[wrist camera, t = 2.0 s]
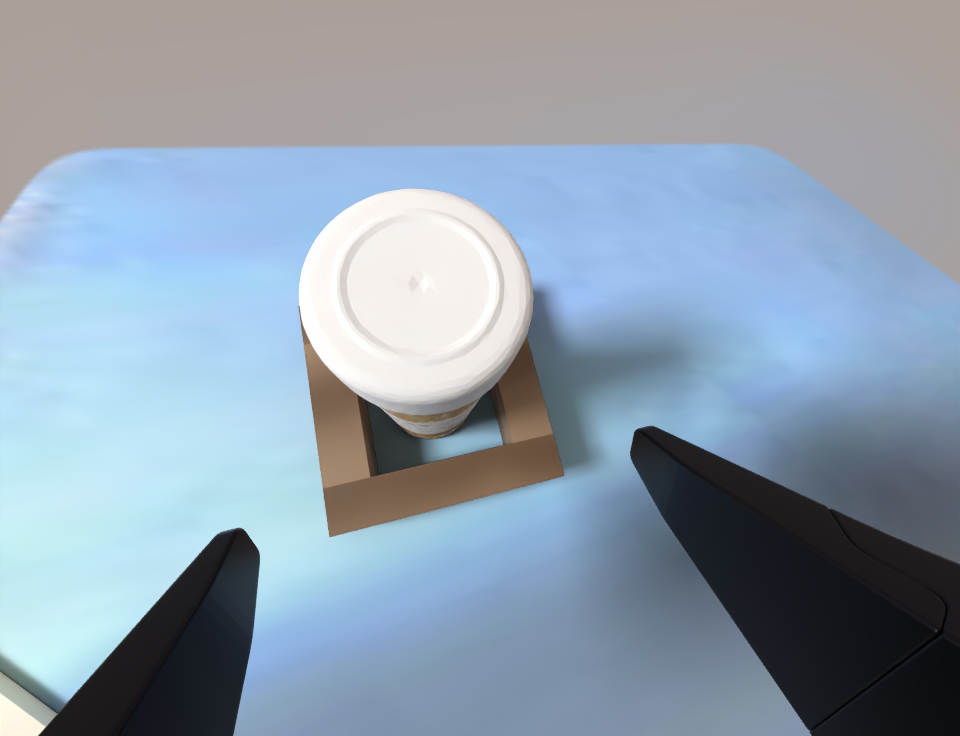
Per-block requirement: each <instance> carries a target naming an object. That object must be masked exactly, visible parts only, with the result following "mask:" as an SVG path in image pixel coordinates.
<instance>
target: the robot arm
mask: <svg viewBox="0 0 960 736" xmlns="http://www.w3.org/2000/svg"><path fill="white" fill-rule="evenodd" d="M630 456H631V460H632V462H633V464H634V466H635V468H636V470H637V471H638V473H639V475H640V477H641V479H642V481H643V482H644V484H645V486H646V488H647V490H648V492H649V493H650V495H651V497H652V499H653V501H654V502H655V504H656V506H657V508H658V510H659V511H660V513H661V515H662V516H663V518H664V520H665V521H666V523H667V524H668V526H669V527H670V529H671V530H672V532H673V533H674V535H675V536H676V537H677V539H678V540H679V542H680V543H681V545H682V546H683V548H684V549H685V551H686V552H687V554H688V555H689V556H690V558H691V559H692V561H693V562H694V564H695V565H696V567H697V568H698V570H699V571H700V573H701V574H702V575H703V577H704V578H705V580H706V581H707V583H708V584H709V586H710V587H711V589H712V590H713V592H714V593H715V594H716V596H717V597H718V599H719V600H720V602H721V603H722V605H723V606H724V608H725V609H726V611H727V612H728V613H729V615H730V616H731V618H732V619H733V621H734V622H735V624H736V625H737V627H738V628H739V630H740V631H741V632H742V634H743V635H744V637H745V638H746V640H747V641H748V643H749V644H750V646H751V647H752V649H753V650H754V651H755V653H756V654H757V656H758V657H759V659H760V660H761V662H762V663H763V665H764V666H765V668H766V669H767V670H768V672H769V673H770V675H771V676H772V678H773V679H774V681H775V682H776V684H777V685H778V687H779V688H780V689H781V691H782V692H783V694H784V695H785V697H786V698H787V700H788V701H789V703H790V704H791V706H792V707H793V708H794V710H795V711H796V713H797V714H798V716H799V717H800V719H801V720H802V722H803V723H804V725H805V726H806V727H807V729H808V730H810V734H811V735H812V736H960V564H958V563H955V562H953V561H951V560H948V559H946V558H943V557H941V556H938V555H936V554H933V553H931V552H929V551H926V550H924V549H921V548H919V547H917V546H914V545H912V544H909V543H907V542H905V541H902V540H900V539H898V538H895V537H893V536H890V535H888V534H886V533H884V532H882V531H879V530H877V529H875V528H873V527H870V526H868V525H866V524H864V523H862V522H859V521H857V520H855V519H853V518H851V517H848V516H846V515H844V514H842V513H840V512H838V511H835V510H833V509H828V508H827V507H826V506H824V505H822V504H820V503H818V502H816V501H814V500H812V499H809V498H807V497H805V496H803V495H801V494H799V493H797V492H794V491H792V490H790V489H788V488H786V487H784V486H781V485H779V484H777V483H775V482H773V481H771V480H769V479H766V478H764V477H762V476H760V475H758V474H756V473H754V472H751V471H749V470H747V469H745V468H743V467H741V466H738V465H736V464H734V463H732V462H730V461H728V460H726V459H723V458H721V457H719V456H717V455H715V454H713V453H711V452H708V451H706V450H704V449H702V448H700V447H698V446H696V445H693V444H691V443H689V442H687V441H685V440H683V439H680V438H678V437H676V436H674V435H672V434H670V433H668V432H665V431H663V430H661V429H659V428H657V427H654V426H646V427H642V428H638V429H636V431H635V432H634V436H633V441H632V446H631V451H630ZM259 566H260V554H259V551H258V549H257V547H256V546H255V544H254V543H253V541H252V540H251V538H250V537H249V536H248V534H247V533H246V531H245V530H244V529H242V528H235V529H231V530H227V531H223V532H220V533H219V534H217V535H216V536H215V537H214V538H213V539H212V540H211V541H210V542H209V544H208V545H207V546H206V547H205V548H204V549H203V550H202V551H201V553H200V554H199V555H198V556H197V557H196V558H195V559H194V561H193V562H192V563H191V564H190V565H189V566H188V567H187V568H186V570H185V571H184V572H183V573H182V574H181V575H180V576H179V577H178V579H177V580H176V581H175V582H174V583H173V584H172V585H171V586H170V588H169V589H168V590H167V591H166V592H165V593H164V594H163V595H162V597H161V598H160V599H159V600H158V601H157V602H156V603H155V604H154V606H153V607H152V608H151V609H150V610H149V611H148V612H147V613H146V615H145V616H144V617H143V618H142V619H141V620H140V621H139V622H138V624H137V625H136V626H135V627H134V628H133V629H132V630H131V631H130V633H129V634H128V635H127V636H126V637H125V638H124V639H123V640H122V642H121V643H120V644H119V645H118V646H117V647H116V648H115V649H114V651H113V652H112V653H111V654H110V655H109V656H108V657H107V658H106V660H105V661H104V662H103V663H102V664H101V665H100V666H99V667H98V669H97V670H96V671H95V672H94V673H93V674H92V675H91V676H90V678H89V679H88V680H87V681H86V682H85V683H84V684H83V685H82V687H81V688H80V689H79V690H78V691H77V692H76V693H75V694H74V696H73V697H72V698H71V699H70V700H69V701H68V702H67V703H66V705H65V706H64V707H63V708H62V709H61V710H60V711H59V712H58V714H57V715H56V716H55V717H54V718H53V719H52V720H51V721H50V723H49V724H48V725H47V726H46V727H45V728H44V729H43V730H42V732H41V733H40V734H39V735H38V736H233V734H234V729H235V724H236V719H237V714H238V709H239V704H240V699H241V694H242V689H243V684H244V679H245V674H246V669H247V664H248V659H249V654H250V649H251V643H252V637H253V629H254V619H255V608H256V598H257V587H258V576H259Z"/></svg>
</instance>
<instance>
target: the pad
mask: <svg viewBox="0 0 960 736" xmlns="http://www.w3.org/2000/svg"><path fill="white" fill-rule="evenodd" d="M56 715H57V713H55V712H54V711H53V710H51V709H50V708H49V707H47V706H46V705H45V704H43V703H42V702H41V701H39V700H38V699H36V698H35V697H34V696H32V695H31V694H30V693H28V692H27V691H26V690H24V689H23V688H22V687H20V686H19V685H17V684H16V683H15V682H13V681H12V680H11V679H9V678H8V677H7V676H5V675H4V674H3V673H1V672H0V736H38V735H39V734H40V733H41V732H42V730H43V729H44V728H45V727H46V726H47V725H48V724H49V723H50V721H51V720H52V719H53V718H54V717H55V716H56Z"/></svg>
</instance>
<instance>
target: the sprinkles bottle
mask: <svg viewBox="0 0 960 736" xmlns="http://www.w3.org/2000/svg"><path fill="white" fill-rule="evenodd" d="M533 300H534V296H533V285H532V280H531V275H530V270H529V267H528V264H527V261H526V259H525V257H524V254H523V252H522V251H521V249H520V247H519V246H518V244H517V242H516V241H515V239H514V238H513V236H512V235H511V234H510V233H509V231H508V230H507V229H506V228H505V227H504V226H503V225H502V224H501V223H500V222H499V221H498V220H497V219H496V218H495V217H493V216H492V215H491V214H490V213H488V212H487V211H485V210H484V209H482V208H481V207H479V206H478V205H476V204H474V203H472V202H470V201H468V200H466V199H464V198H461V197H459V196H456V195H452V194H449V193H445V192H441V191H435V190H428V189H402V190H395V191H388V192H383V193H380V194H376V195H373V196H371V197H369V198H366V199H364V200H362V201H359V202H357V203H356V204H354V205H352V206H351V207H349V208H347V209H346V210H344V211H343V212H342V213H340V214H339V215H338V216H337V217H336V218H334V219H333V220H332V221H331V222H330V223H329V224H328V225H327V226H326V227H325V228H324V229H323V231H322V232H321V233H320V235H319V236H318V237H317V239H316V240H315V241H314V243H313V245H312V247H311V249H310V251H309V253H308V255H307V257H306V260H305V263H304V266H303V269H302V272H301V277H300V285H299V304H300V312H301V318H302V323H303V326H304V329H305V331H306V334H307V336H308V338H309V340H310V342H311V344H312V346H313V348H314V350H315V351H316V353H317V354H318V356H319V357H320V358H321V360H322V361H323V363H324V364H325V365H326V366H327V367H328V368H329V369H330V370H331V371H332V372H333V373H334V374H335V375H336V376H337V377H338V378H339V379H340V380H341V381H342V382H343V383H344V384H345V385H347V386H348V387H349V388H350V389H351V390H352V391H354V392H355V393H356V394H358V395H359V396H361V397H362V398H364V399H365V400H367V401H369V402H371V403H373V404H375V405H377V406H379V407H380V408H381V409H382V410H384V411H385V412H386V413H387V414H388V415H389V416H390V417H391V418H392V419H393V420H394V421H395V422H396V423H397V424H398V426H399V427H400V428H401V429H403V430H404V431H405V432H407V433H409V434H410V435H412V436H414V437H418V438H424V439H437V438H441V437H444V436H447V435H449V434H451V433H452V432H453V431H455V430H457V429H458V428H459V427H460V426H461V425H462V424H463V423H464V421H465V420H466V419H467V416H468V414H469V413H470V412H471V410H472V409H473V408H474V406H475V405H476V404H477V402H478V401H479V399H480V398H481V397H482V395H484V394H485V393H486V392H487V391H489V390H490V389H491V388H492V387H493V386H494V385H495V384H496V383H497V382H498V381H499V380H500V378H501V377H502V376H503V374H504V373H505V372H506V370H507V369H508V368H509V366H510V365H511V363H512V362H513V360H514V359H515V357H516V355H517V354H518V352H519V350H520V348H521V346H522V344H523V342H524V340H525V338H526V336H527V333H528V330H529V326H530V323H531V318H532V313H533Z"/></svg>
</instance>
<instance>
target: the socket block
mask: <svg viewBox="0 0 960 736" xmlns="http://www.w3.org/2000/svg"><path fill="white" fill-rule="evenodd" d="M299 313H300V320H301V328H302V335H303V343H304V350H305V358H306V365H307V373H308V380H309V387H310V395H311V402H312V410H313V417H314V425H315V432H316V440H317V447H318V455H319V462H320V470H321V477H322V485H323V492H324V500H325V507H326V515H327V522H328V530H329V537H333V536H336V535H340V534H344V533H348V532H352V531H356V530H359V529H363V528H367V527H371V526H375V525H379V524H382V523H386V522H390V521H394V520H398V519H401V518H405V517H409V516H413V515H417V514H421V513H424V512H428V511H432V510H436V509H440V508H444V507H447V506H451V505H455V504H459V503H463V502H467V501H470V500H474V499H478V498H482V497H486V496H490V495H493V494H497V493H501V492H505V491H509V490H513V489H516V488H520V487H524V486H528V485H532V484H536V483H539V482H543V481H547V480H551V479H555V478H558V477H562V476H564V472H563V469H562V465H561V461H560V457H559V454H558V450H557V446H556V443H555V439H554V435H553V432H552V428H551V424H550V421H549V417H548V413H547V410H546V406H545V402H544V399H543V395H542V391H541V388H540V384H539V380H538V377H537V373H536V369H535V366H534V362H533V358H532V355H531V351H530V347H529V343H528V340H527V336H526V338H525V340H524V342H523V344H522V346H521V348H520V350H519V352H518V354H517V355H516V357H515V359H514V360H513V362H512V363H511V365H510V366H509V368H508V369H507V370H506V372H505V373H504V374H503V376H502V377H501V378H500V380H499V381H498V382H497V383H496V384H495V385H494V386H493V387H492V388H491V389H490V391H491V395H492V399H493V403H494V407H495V411H496V415H497V420H498V424H499V428H500V432H501V436H502V440H503V444H504V445H502V446H498V447H494V448H490V449H486V450H481V451H477V452H473V453H469V454H465V455H460V456H456V457H452V458H448V459H444V460H440V461H435V462H431V463H427V464H423V465H419V466H414V467H410V468H406V469H402V470H398V471H394V472H389V473H385V474H381V475H379V474H378V468H377V462H376V456H375V450H374V443H373V437H372V431H371V425H370V419H369V413H368V407H367V401H366V400H365V399H364V398H362V397H361V396H359V395H358V394H356V393H355V392H354V391H352V390H351V389H350V388H349V387H348V386H347V385H345V384H344V383H343V382H342V381H341V380H340V379H339V378H338V377H337V376H336V375H335V374H334V373H333V372H332V371H331V370H330V369H329V368H328V367H327V366H326V365H325V364H324V363H323V361H322V360H321V358H320V357H319V356H318V354H317V353H316V351H315V350H314V348H313V346H312V344H311V342H310V340H309V338H308V336H307V334H306V331H305V329H304V326H303V323H302V318H301V312H300V306H299Z"/></svg>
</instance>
